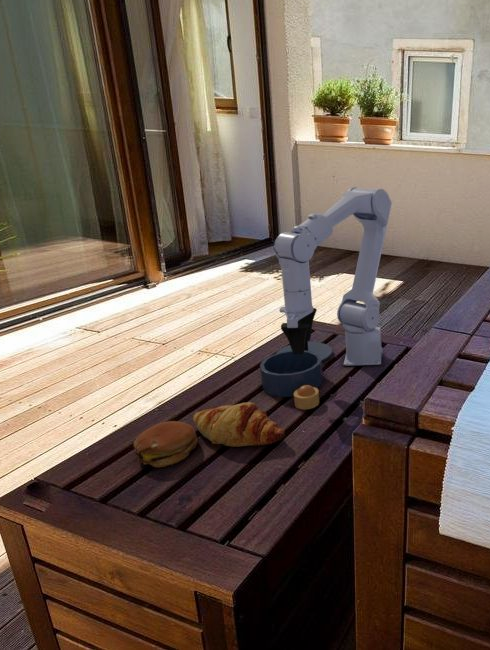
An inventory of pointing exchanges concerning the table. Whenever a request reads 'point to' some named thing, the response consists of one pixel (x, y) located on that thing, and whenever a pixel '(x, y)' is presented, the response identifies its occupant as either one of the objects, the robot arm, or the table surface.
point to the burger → (165, 443)
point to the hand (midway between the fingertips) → (302, 346)
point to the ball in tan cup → (306, 397)
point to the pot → (290, 372)
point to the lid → (313, 349)
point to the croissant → (237, 425)
